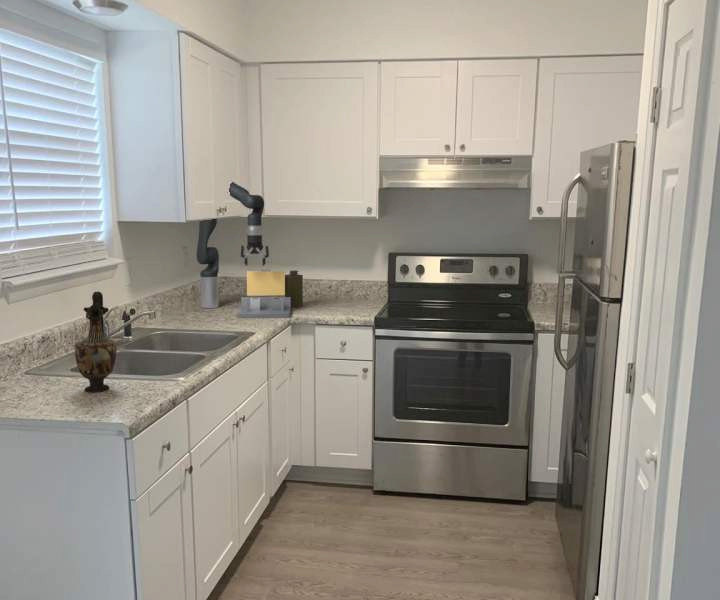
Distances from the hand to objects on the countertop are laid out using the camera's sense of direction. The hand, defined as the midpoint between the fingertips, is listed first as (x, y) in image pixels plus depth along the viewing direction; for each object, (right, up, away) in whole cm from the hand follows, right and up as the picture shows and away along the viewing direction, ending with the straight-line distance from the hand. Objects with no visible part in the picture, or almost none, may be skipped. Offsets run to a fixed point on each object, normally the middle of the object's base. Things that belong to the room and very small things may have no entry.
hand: (255, 265), depth 315 cm
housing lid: (+4, -9, +9) cm, 13 cm away
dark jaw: (+11, -23, +4) cm, 26 cm away
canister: (+17, -21, +29) cm, 40 cm away
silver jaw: (0, -23, +4) cm, 23 cm away
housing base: (+5, -25, +1) cm, 26 cm away
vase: (-27, -46, -127) cm, 137 cm away
